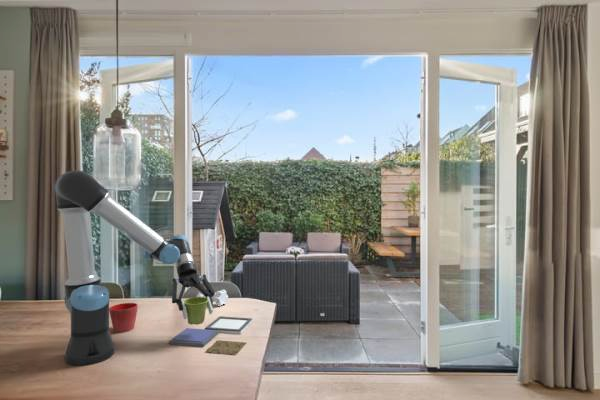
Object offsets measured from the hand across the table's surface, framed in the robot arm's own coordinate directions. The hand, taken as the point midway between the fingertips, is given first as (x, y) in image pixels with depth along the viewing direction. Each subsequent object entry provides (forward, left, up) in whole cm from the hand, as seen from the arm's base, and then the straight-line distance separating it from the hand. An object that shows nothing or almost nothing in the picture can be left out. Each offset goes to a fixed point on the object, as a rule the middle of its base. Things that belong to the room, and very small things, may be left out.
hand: (198, 314), depth 144 cm
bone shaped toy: (+48, +16, -10) cm, 52 cm away
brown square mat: (-4, -13, -11) cm, 17 cm away
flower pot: (+6, +37, -10) cm, 38 cm away
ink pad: (+2, +3, -10) cm, 10 cm away
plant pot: (+2, +2, -4) cm, 5 cm away
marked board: (+18, -5, -10) cm, 21 cm away
